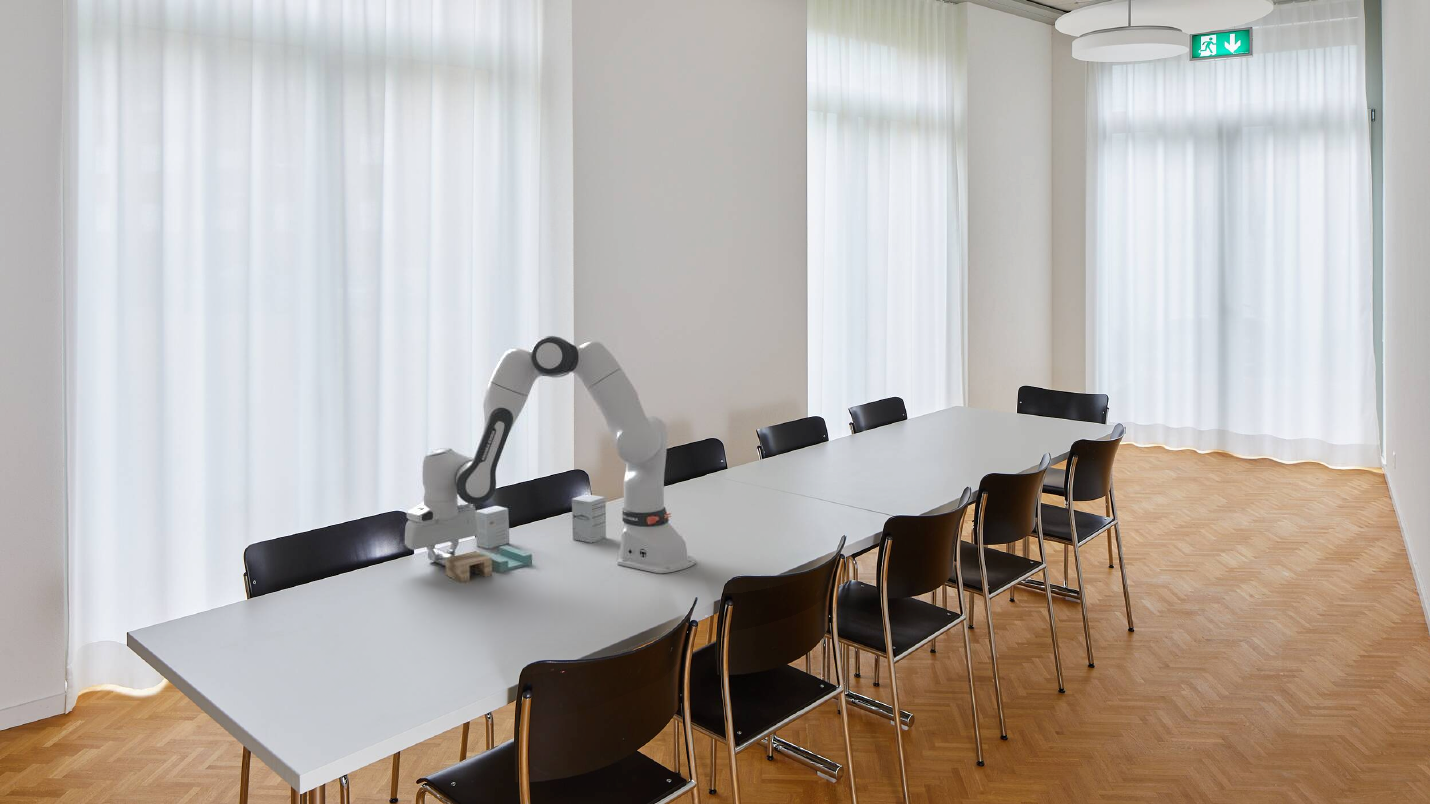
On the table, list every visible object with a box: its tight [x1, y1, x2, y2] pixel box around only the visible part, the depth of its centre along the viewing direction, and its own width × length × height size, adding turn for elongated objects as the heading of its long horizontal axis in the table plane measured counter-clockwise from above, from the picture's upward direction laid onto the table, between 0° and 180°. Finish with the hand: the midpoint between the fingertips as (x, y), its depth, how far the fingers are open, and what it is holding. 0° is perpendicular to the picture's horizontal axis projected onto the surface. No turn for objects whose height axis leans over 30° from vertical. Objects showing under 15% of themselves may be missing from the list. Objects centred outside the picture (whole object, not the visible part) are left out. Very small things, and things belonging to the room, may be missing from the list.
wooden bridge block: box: [445, 551, 493, 583], centre depth 253 cm, size 8×9×5 cm
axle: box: [427, 547, 475, 575], centre depth 259 cm, size 18×4×4 cm, turn 46°
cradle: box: [478, 544, 533, 573], centre depth 263 cm, size 12×10×3 cm
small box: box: [475, 505, 511, 550], centre depth 281 cm, size 8×6×10 cm
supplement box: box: [571, 493, 607, 544], centre depth 285 cm, size 7×7×13 cm
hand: (443, 558), depth 262 cm, fingers closed on axle, 3 cm apart
